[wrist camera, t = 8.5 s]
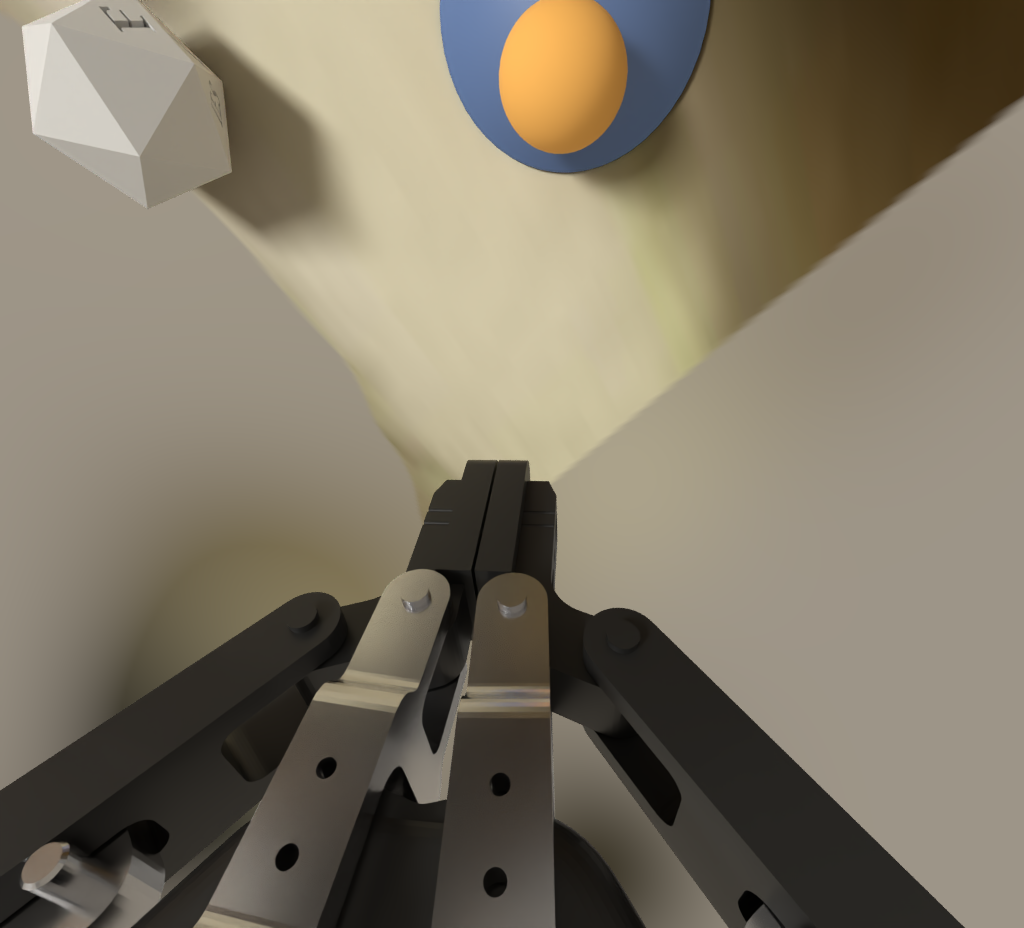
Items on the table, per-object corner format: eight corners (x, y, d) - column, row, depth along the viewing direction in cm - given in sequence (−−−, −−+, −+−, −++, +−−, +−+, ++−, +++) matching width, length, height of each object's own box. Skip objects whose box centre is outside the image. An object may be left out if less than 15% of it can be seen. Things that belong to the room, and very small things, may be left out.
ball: (474, 107, 22) (518, 187, 28) (614, 76, 20) (631, 169, 26) (482, -25, 22) (524, 81, 28) (621, -68, 20) (636, 56, 26)
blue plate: (420, -164, 22) (419, -166, 22) (736, -210, 20) (737, -213, 20) (458, 178, 30) (457, 178, 29) (689, 165, 28) (690, 165, 28)
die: (292, 165, 31) (195, 28, 21) (186, 259, 31) (39, 164, 21) (201, 64, 31) (62, -119, 21) (94, 158, 31) (-94, 18, 21)
